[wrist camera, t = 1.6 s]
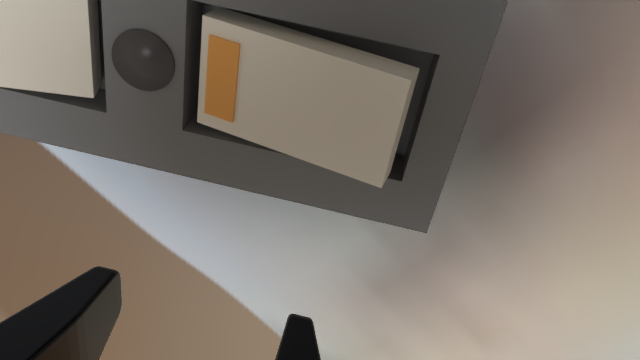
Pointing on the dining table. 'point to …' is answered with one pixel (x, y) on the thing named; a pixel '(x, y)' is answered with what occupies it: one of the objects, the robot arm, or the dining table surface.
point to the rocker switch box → (251, 158)
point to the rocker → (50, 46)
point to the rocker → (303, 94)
